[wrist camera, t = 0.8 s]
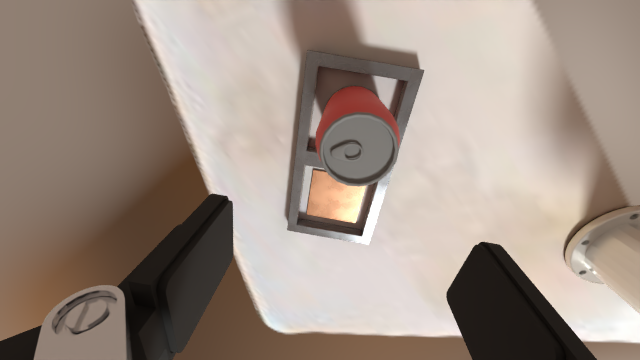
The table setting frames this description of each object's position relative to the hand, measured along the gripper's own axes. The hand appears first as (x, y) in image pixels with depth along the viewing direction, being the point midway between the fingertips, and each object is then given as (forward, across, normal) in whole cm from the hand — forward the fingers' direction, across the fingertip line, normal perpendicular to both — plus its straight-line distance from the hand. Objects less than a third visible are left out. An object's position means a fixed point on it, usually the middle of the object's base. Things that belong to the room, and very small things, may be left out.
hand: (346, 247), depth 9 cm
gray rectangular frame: (+21, -1, +5) cm, 21 cm away
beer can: (+21, -1, -1) cm, 21 cm away
